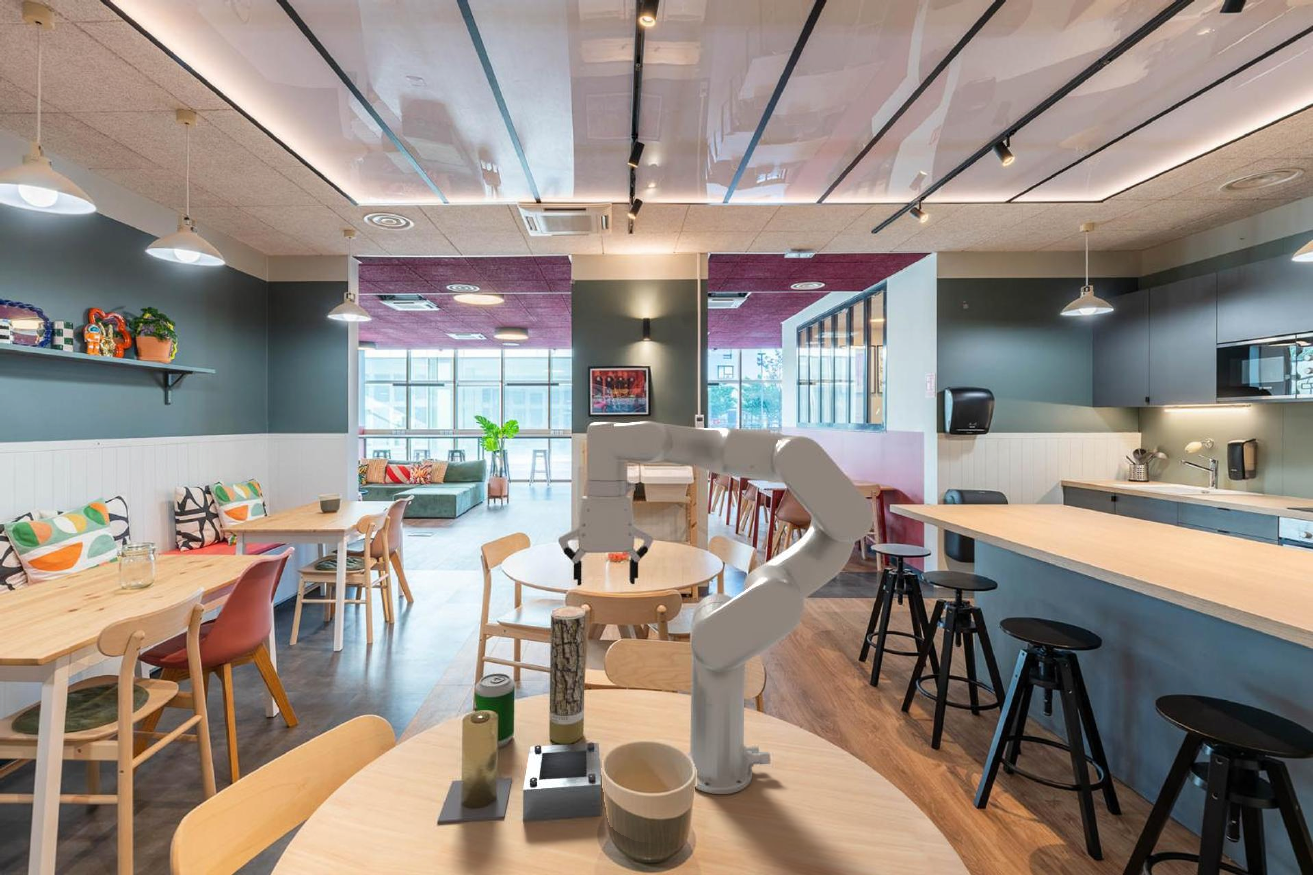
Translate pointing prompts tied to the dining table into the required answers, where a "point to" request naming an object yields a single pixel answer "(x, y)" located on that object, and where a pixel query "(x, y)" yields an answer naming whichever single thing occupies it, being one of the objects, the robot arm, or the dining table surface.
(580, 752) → the housing
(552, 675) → the paper tube
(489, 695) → the soda can
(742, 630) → the robot arm
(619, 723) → the dining table surface
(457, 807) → the rubber mat
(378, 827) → the dining table surface
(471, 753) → the tan cylinder
